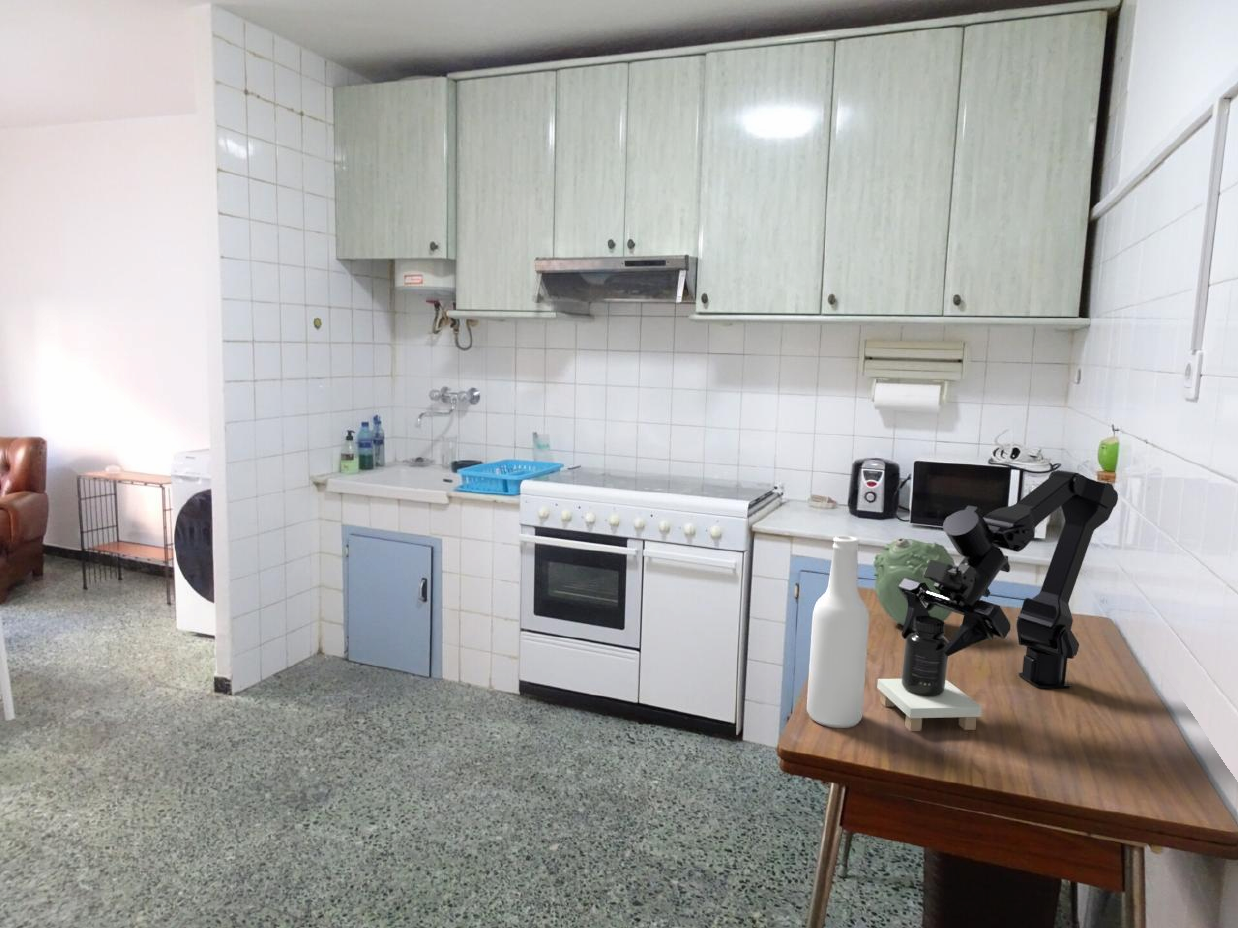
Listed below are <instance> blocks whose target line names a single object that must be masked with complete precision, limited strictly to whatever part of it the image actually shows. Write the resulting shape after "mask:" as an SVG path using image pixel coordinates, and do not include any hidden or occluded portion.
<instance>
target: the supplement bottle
mask: <svg viewBox="0 0 1238 928" xmlns="http://www.w3.org/2000/svg"><path fill="white" fill-rule="evenodd" d="M945 626H946V622H945V620H944V621H943V620H941V619H939V618H936V617H932V616H917V617H915V618H914V625H913V630H914V631H912V632H910V633H909V634H908V635H907V637H906V639H904V642H905V643H904V653H903V662H902V670H901V671H902V672H901V679H902V685H903V687H904V688H905V689H906V690H908V691H909V692H912V693H914V694H917V695H921V696H938V695H940V694H942V693H943V691H944V688H945V681H946V680H947V670H948V663H949V662H948V660H949V656H946V654H945V653H944V651H945V649H946V647H947V645H948V643H949V642H950V641H949V640H948V639H947V637H945V632H946V630H945V629H946V627H945Z"/></svg>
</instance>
